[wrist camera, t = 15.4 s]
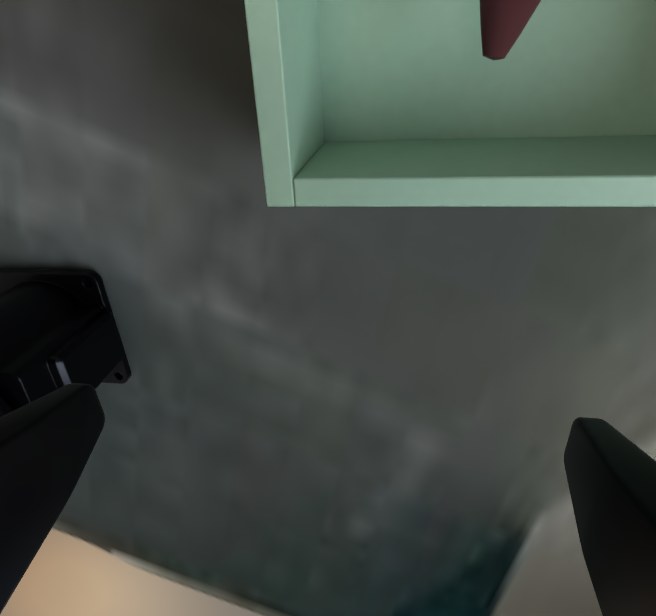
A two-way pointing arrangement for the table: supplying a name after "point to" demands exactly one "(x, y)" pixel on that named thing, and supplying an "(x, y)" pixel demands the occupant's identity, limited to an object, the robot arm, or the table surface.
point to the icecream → (503, 24)
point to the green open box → (454, 104)
